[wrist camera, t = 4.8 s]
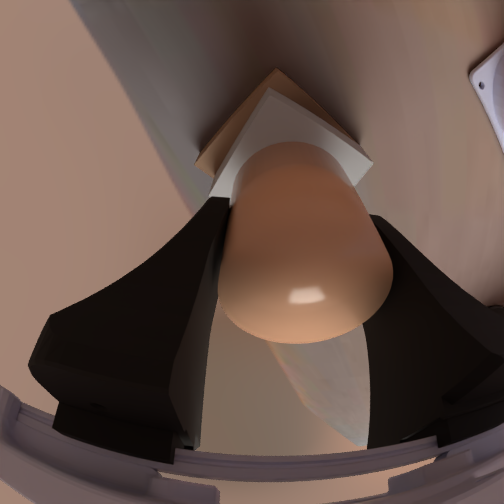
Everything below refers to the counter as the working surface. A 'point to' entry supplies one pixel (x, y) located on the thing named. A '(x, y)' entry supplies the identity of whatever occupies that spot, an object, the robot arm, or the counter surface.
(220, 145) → the slab lower
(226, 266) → the terracotta cylinder
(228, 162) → the slab upper
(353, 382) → the counter surface
